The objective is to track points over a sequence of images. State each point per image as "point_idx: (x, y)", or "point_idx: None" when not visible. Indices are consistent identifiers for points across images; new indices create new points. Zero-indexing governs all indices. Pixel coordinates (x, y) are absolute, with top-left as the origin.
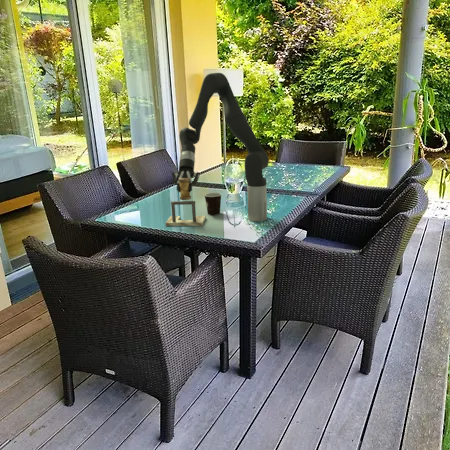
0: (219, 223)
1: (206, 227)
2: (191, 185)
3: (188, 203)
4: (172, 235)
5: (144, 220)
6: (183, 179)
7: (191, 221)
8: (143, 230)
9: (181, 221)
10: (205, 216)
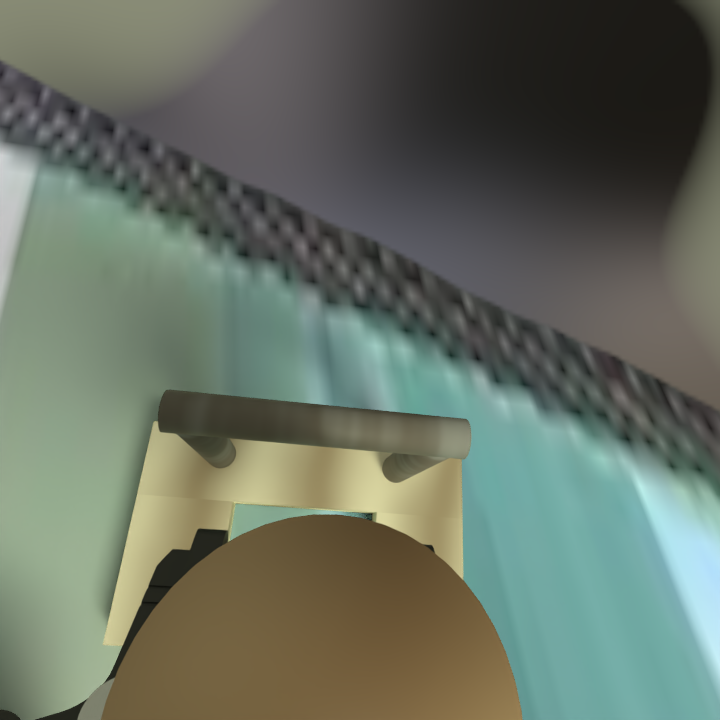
0: (2, 472)
1: (131, 380)
2: (132, 639)
3: (250, 398)
4: (367, 255)
5: (666, 626)
6: (325, 563)
7: (248, 458)
8: (577, 371)
9: (335, 468)
10: (107, 631)
